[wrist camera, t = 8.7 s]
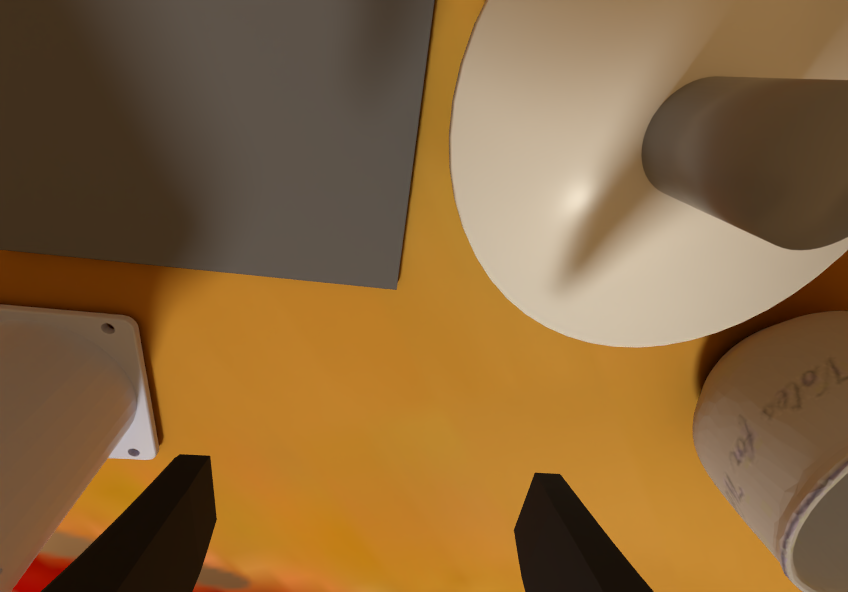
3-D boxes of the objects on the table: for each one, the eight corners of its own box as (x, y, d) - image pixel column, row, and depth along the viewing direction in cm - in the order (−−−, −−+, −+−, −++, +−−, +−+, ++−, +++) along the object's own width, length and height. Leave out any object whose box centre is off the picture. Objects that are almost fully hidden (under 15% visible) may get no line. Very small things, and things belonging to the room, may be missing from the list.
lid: (417, 318, 14) (427, 419, 10) (513, -273, 8) (628, -598, 4) (775, 352, 16) (909, 452, 12) (1066, -122, 10) (1537, -253, 6)
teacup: (707, 275, 19) (889, 395, 12) (928, 283, 20) (1214, 399, 13) (621, 491, 26) (708, 652, 19) (792, 489, 27) (937, 642, 20)
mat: (3, 245, 17) (-5, 248, 16) (-186, -373, 10) (-206, -389, 10) (396, 285, 19) (396, 289, 18) (461, -213, 12) (463, -221, 11)
